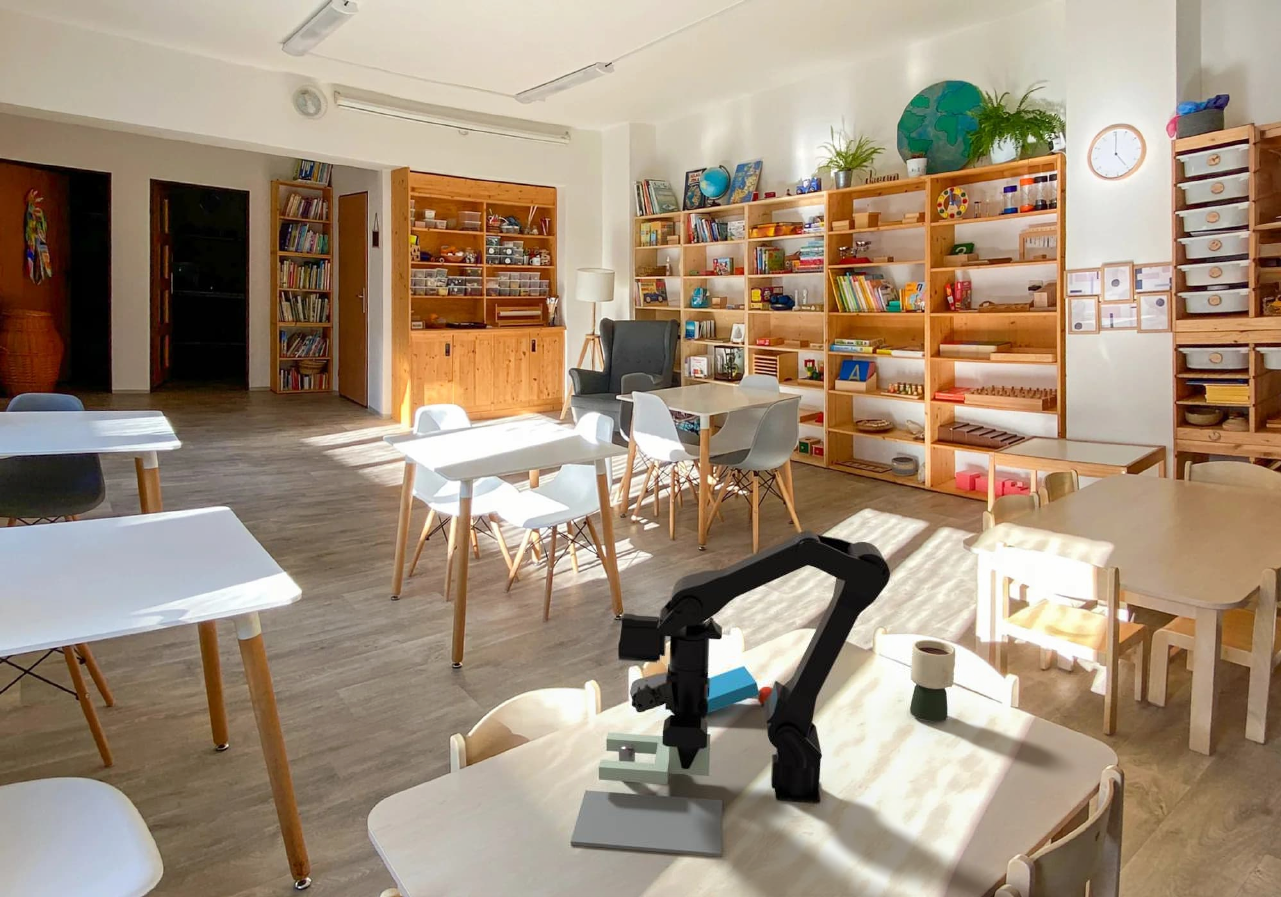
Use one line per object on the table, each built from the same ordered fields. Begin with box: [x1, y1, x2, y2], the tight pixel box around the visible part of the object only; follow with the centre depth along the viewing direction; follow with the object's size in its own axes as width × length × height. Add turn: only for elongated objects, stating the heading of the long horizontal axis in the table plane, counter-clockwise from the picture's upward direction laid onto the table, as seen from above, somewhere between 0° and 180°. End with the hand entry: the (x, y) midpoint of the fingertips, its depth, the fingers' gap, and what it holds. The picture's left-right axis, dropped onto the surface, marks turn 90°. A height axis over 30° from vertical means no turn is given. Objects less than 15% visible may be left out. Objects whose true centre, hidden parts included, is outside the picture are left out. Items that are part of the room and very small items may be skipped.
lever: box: [707, 665, 773, 714], centre depth 153 cm, size 7×7×18 cm
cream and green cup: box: [909, 639, 956, 722], centre depth 150 cm, size 11×7×13 cm, turn 17°
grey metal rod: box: [618, 743, 636, 783], centre depth 130 cm, size 2×2×5 cm
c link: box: [598, 732, 711, 785], centre depth 129 cm, size 16×10×4 cm, turn 84°
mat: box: [570, 789, 723, 858], centre depth 119 cm, size 20×12×1 cm, turn 84°
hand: (686, 760), depth 129 cm, fingers closed on c link, 4 cm apart
